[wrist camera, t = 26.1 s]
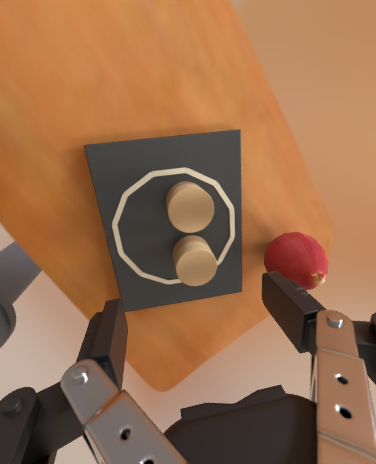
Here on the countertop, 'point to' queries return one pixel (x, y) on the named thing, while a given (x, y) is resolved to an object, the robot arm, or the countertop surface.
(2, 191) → the countertop surface
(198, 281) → the dot
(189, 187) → the dot
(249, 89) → the countertop surface
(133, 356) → the countertop surface
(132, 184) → the slate board
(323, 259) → the onion
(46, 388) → the robot arm
